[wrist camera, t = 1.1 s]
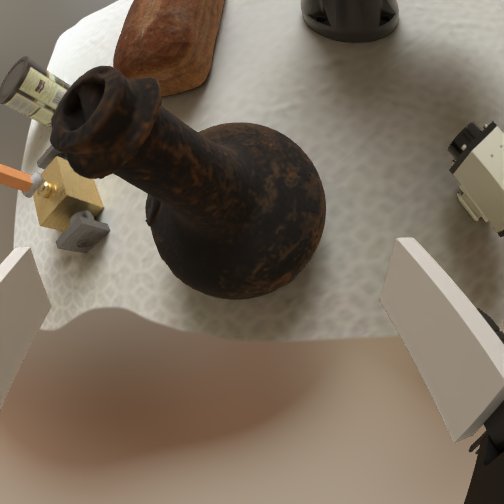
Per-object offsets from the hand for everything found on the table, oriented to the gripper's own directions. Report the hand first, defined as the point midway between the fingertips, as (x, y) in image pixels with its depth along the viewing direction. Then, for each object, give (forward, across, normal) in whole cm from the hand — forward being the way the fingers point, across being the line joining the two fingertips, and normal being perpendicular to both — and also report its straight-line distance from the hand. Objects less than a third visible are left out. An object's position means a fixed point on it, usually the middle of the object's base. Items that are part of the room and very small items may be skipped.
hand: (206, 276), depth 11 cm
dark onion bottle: (+26, +4, -10) cm, 28 cm away
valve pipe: (+38, -23, -11) cm, 46 cm away
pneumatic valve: (+19, +29, -4) cm, 35 cm away
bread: (+50, -6, +14) cm, 52 cm away
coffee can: (+57, -36, +5) cm, 67 cm away
